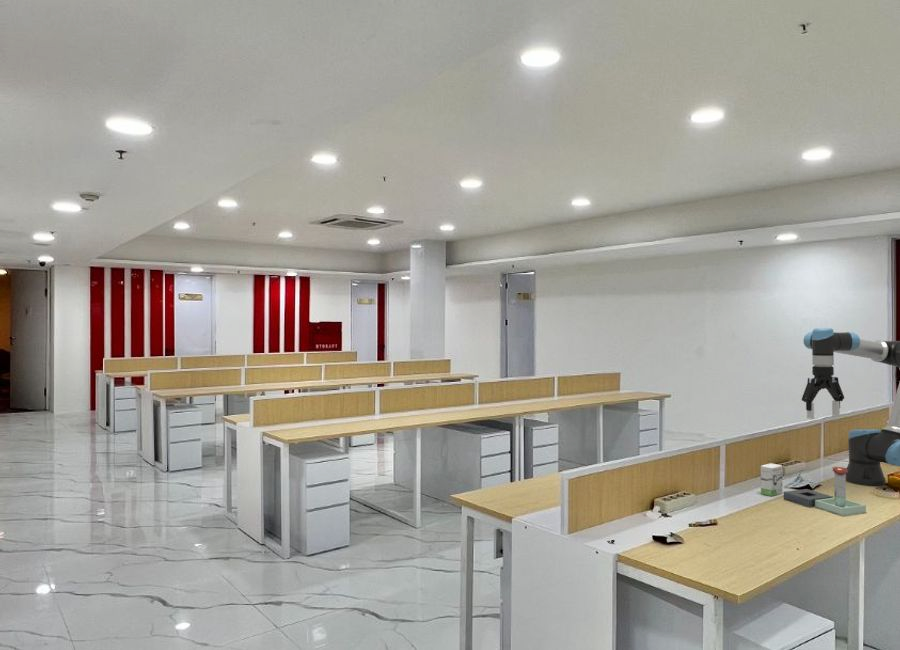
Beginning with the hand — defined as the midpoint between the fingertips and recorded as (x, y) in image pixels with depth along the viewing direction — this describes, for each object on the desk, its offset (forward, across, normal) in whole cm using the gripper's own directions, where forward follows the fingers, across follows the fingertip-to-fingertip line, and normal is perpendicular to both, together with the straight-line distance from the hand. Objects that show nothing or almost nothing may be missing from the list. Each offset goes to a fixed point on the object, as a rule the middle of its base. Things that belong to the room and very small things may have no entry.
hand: (823, 417), depth 258 cm
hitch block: (+32, +14, +5) cm, 35 cm away
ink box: (+32, +18, -9) cm, 38 cm away
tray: (+32, +12, +18) cm, 38 cm away
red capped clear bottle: (+31, +12, +18) cm, 38 cm away
